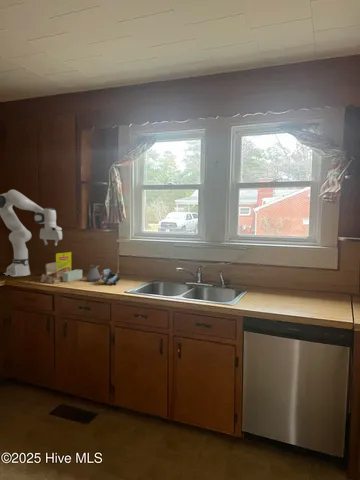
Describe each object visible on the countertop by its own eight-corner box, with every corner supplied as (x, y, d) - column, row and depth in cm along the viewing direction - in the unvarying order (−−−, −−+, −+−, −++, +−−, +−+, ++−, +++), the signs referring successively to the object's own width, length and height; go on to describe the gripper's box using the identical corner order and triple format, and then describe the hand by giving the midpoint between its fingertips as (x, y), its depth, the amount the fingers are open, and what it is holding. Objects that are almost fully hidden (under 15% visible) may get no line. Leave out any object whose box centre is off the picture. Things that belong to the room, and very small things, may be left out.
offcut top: (51, 277, 277) (51, 272, 276) (58, 275, 286) (58, 270, 286) (56, 277, 276) (56, 273, 275) (63, 275, 285) (63, 271, 285)
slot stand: (62, 281, 279) (62, 272, 278) (77, 277, 296) (77, 269, 296) (67, 282, 277) (67, 273, 277) (82, 277, 294) (82, 269, 294)
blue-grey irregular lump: (114, 286, 267) (105, 270, 264) (103, 290, 272) (94, 275, 269) (123, 277, 280) (114, 262, 277) (112, 281, 285) (103, 266, 282)
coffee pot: (94, 282, 277) (94, 264, 275) (83, 281, 282) (83, 262, 280) (111, 278, 295) (111, 260, 294) (100, 276, 301) (100, 259, 299)
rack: (40, 282, 276) (40, 274, 275) (56, 277, 293) (56, 270, 292) (53, 283, 271) (53, 276, 270) (69, 279, 288) (69, 272, 288)
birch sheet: (45, 281, 279) (45, 264, 277) (55, 278, 289) (55, 262, 287) (47, 281, 278) (47, 264, 277) (56, 279, 288) (56, 262, 287)
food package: (56, 276, 297) (56, 253, 295) (55, 276, 298) (55, 253, 296) (71, 274, 309) (71, 252, 307) (71, 274, 310) (70, 251, 308)
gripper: (37, 227, 280) (38, 244, 282) (58, 228, 273) (58, 246, 274) (43, 227, 286) (43, 244, 287) (63, 228, 279) (63, 245, 280)
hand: (50, 245), depth 281 cm, fingers open, 8 cm apart
